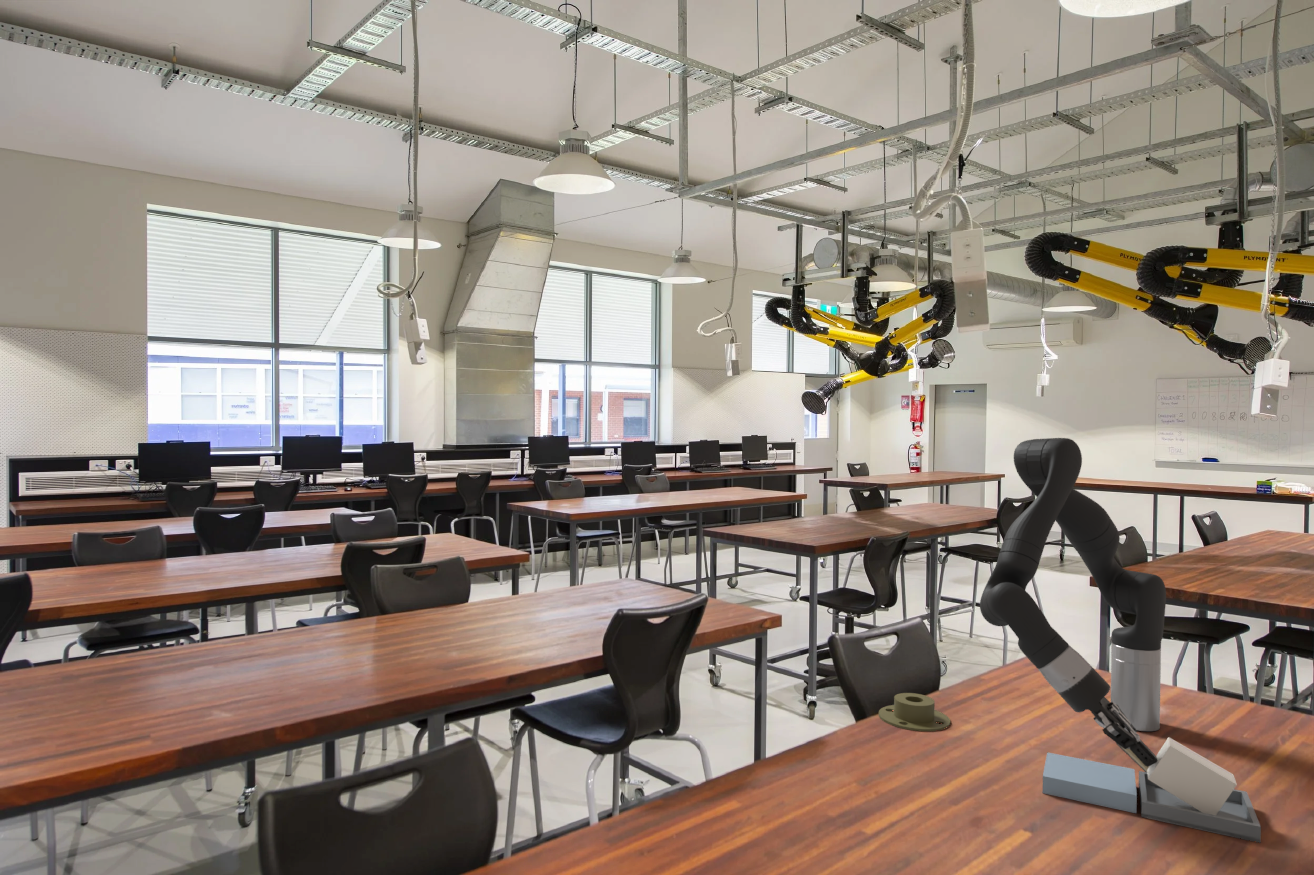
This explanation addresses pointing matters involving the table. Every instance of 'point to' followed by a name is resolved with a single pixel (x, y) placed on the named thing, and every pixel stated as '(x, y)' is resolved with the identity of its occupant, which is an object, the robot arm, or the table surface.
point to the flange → (914, 713)
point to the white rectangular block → (1191, 777)
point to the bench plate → (1090, 782)
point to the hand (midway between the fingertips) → (1152, 762)
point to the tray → (1229, 820)
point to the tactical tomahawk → (1134, 758)
